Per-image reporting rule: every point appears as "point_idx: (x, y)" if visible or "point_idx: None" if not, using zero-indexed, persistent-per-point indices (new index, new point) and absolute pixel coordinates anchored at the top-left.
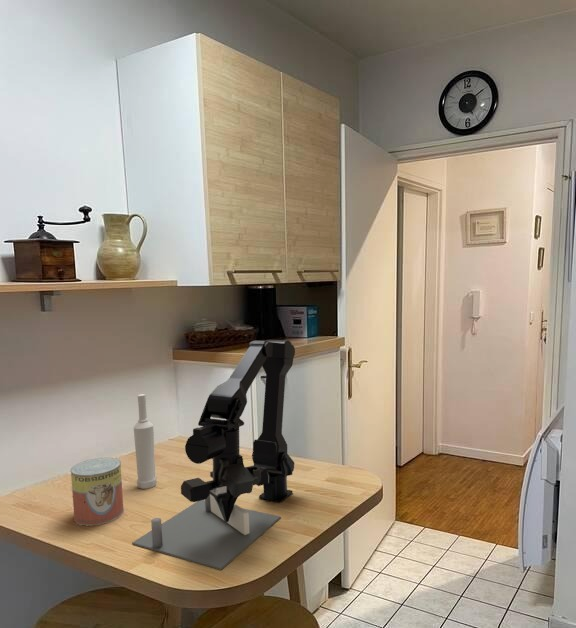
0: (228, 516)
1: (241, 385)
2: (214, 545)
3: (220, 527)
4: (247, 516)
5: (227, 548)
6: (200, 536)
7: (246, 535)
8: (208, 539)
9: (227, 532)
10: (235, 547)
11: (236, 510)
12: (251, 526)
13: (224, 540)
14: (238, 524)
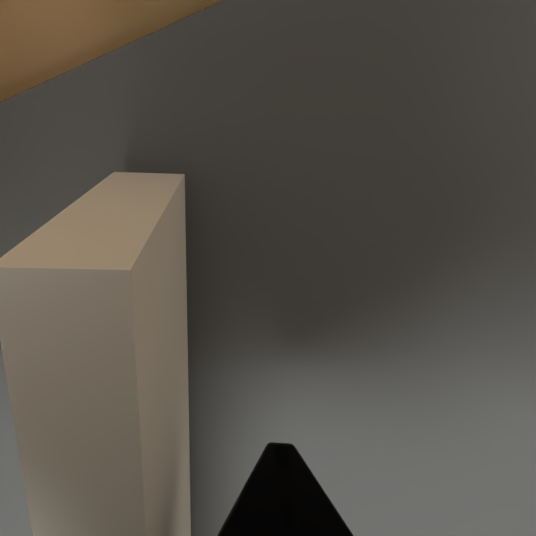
0: (277, 486)
1: None
2: (519, 246)
3: None
4: (56, 239)
5: (475, 92)
6: (488, 459)
7: None
8: (477, 377)
9: (270, 374)
10: (399, 45)
11: (149, 506)
12: None
13: (387, 263)
14: (178, 336)
